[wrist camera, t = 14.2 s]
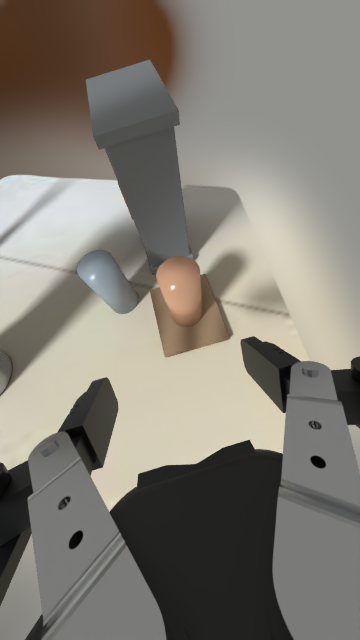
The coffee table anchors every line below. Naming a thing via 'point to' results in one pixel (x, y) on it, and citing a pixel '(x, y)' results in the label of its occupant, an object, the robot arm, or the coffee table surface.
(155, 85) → the post
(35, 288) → the coffee table surface
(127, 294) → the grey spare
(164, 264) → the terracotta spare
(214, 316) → the pad
